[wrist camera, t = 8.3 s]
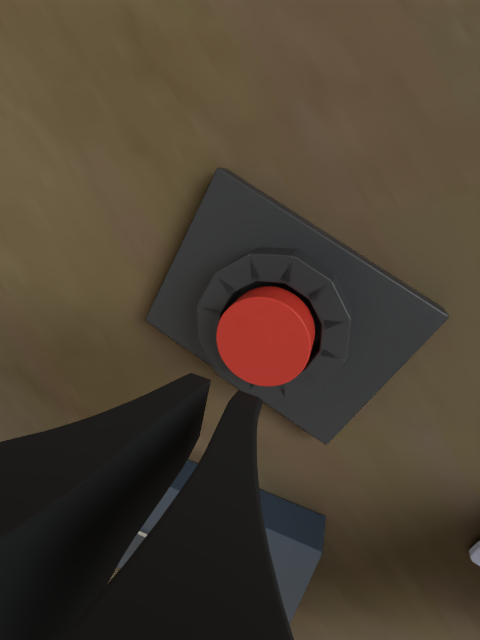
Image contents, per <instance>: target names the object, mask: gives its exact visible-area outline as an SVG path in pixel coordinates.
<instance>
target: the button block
mask: <svg viewBox="0 0 480 640" xmlns="http://www.w3.org/2000/svg"><path fill="white" fill-rule="evenodd" d="M264 286H273V287H279V288H282V289H285V290H288V291H290V292H291V293H293V294H295V295H296V296H297V297H299V298H300V299H301V300H302V301H303V302H304V303H305V304H306V306H307V307H308V309H309V310H310V312H311V314H312V317H313V320H314V324H315V338H314V342H313V346H312V350H311V353H310V357H309V360H308V362H307V364H306V366H305V368H304V369H303V371H302V372H301V373H300V374H299V375H298V376H297V377H295V378H294V379H293V380H291V381H289V382H287V383H285V384H281V385H278V386H259V385H254V384H251V383H249V382H246V381H244V380H243V379H241V378H239V377H238V376H236V375H235V374H234V373H233V372H232V371H231V370H230V369H229V368H228V367H227V366H226V364H225V363H224V361H223V360H222V358H221V356H220V354H219V351H218V347H217V341H216V332H217V326H218V323H219V321H220V319H221V317H222V315H223V314H224V312H225V311H226V310H227V309H228V308H229V307H230V306H231V305H232V304H233V303H234V302H235V301H236V300H237V299H238V298H240V297H241V296H242V295H243V294H244V293H246V292H248V291H249V290H252V289H254V288H258V287H264ZM448 318H449V315H448V314H447V312H446V311H445V310H444V308H443V307H441V306H440V305H438V304H436V303H435V302H433V301H432V300H430V299H429V298H427V297H426V296H424V295H422V294H421V293H419V292H418V291H416V290H415V289H413V288H412V287H410V286H408V285H407V284H405V283H404V282H402V281H401V280H399V279H398V278H396V277H394V276H393V275H391V274H390V273H388V272H387V271H385V270H383V269H382V268H380V267H379V266H377V265H376V264H374V263H373V262H371V261H369V260H368V259H366V258H365V257H363V256H362V255H360V254H359V253H357V252H355V251H354V250H352V249H351V248H349V247H348V246H346V245H345V244H343V243H341V242H340V241H338V240H337V239H335V238H334V237H332V236H331V235H329V234H327V233H326V232H324V231H323V230H321V229H320V228H318V227H316V226H315V225H313V224H312V223H310V222H309V221H307V220H306V219H304V218H302V217H301V216H299V215H298V214H296V213H295V212H293V211H292V210H290V209H288V208H287V207H285V206H284V205H282V204H281V203H279V202H278V201H276V200H274V199H273V198H271V197H270V196H268V195H267V194H265V193H264V192H262V191H260V190H259V189H257V188H256V187H254V186H253V185H251V184H249V183H248V182H246V181H245V180H243V179H242V178H240V177H239V176H237V175H235V174H234V173H232V172H231V171H229V170H228V169H224V168H217V170H216V172H215V174H214V176H213V178H212V180H211V182H210V184H209V187H208V189H207V191H206V193H205V195H204V197H203V199H202V201H201V203H200V206H199V208H198V210H197V212H196V214H195V216H194V218H193V220H192V222H191V224H190V227H189V229H188V231H187V233H186V235H185V237H184V239H183V241H182V243H181V246H180V248H179V250H178V252H177V254H176V256H175V258H174V260H173V262H172V264H171V267H170V269H169V271H168V273H167V275H166V277H165V279H164V281H163V283H162V285H161V288H160V290H159V292H158V294H157V296H156V298H155V300H154V302H153V304H152V307H151V309H150V311H149V313H148V315H147V317H146V319H145V320H146V321H147V322H148V323H150V324H151V325H153V326H154V327H156V328H157V329H158V330H160V331H161V332H163V333H164V334H166V335H167V336H169V337H170V338H171V339H173V340H174V341H176V342H177V343H179V344H180V345H182V346H183V347H185V348H186V349H187V350H189V351H190V352H192V353H193V354H195V355H196V356H198V357H199V358H201V359H202V360H203V361H205V362H206V363H208V364H209V365H211V366H212V367H213V368H214V370H215V371H216V373H217V374H218V375H219V376H220V377H222V378H223V379H225V380H226V381H228V382H229V383H231V384H232V385H234V386H235V387H236V388H238V389H239V390H241V391H243V392H246V393H248V394H251V395H254V396H257V397H260V399H261V400H262V401H263V402H264V403H266V404H267V405H269V406H270V407H272V408H273V409H275V410H276V411H278V412H279V413H280V414H282V415H283V416H285V417H286V418H288V419H289V420H291V421H292V422H293V423H295V424H296V425H298V426H299V427H301V428H302V429H304V430H305V431H307V432H308V433H309V434H311V435H312V436H314V437H315V438H317V439H318V440H320V441H321V442H323V443H324V444H328V443H329V442H330V441H331V439H332V438H333V437H334V436H335V435H336V434H337V433H338V432H339V431H340V430H341V429H342V428H343V427H344V426H345V425H346V424H347V423H348V422H349V421H350V420H351V419H352V418H353V417H354V416H355V415H356V413H357V412H358V411H359V410H360V409H361V408H362V407H363V406H364V405H365V404H366V403H367V402H368V401H369V400H370V399H371V398H372V397H373V396H374V395H375V394H376V393H377V392H378V391H379V390H380V389H381V387H382V386H383V385H384V384H385V383H386V382H387V381H388V380H389V379H390V378H391V377H392V376H393V375H394V374H395V373H396V372H397V371H398V370H399V369H400V368H401V367H402V366H403V365H404V364H405V363H406V361H407V360H408V359H409V358H410V357H411V356H412V355H413V354H414V353H415V352H416V351H417V350H418V349H419V348H420V347H421V346H422V345H423V344H424V343H425V342H426V341H427V340H428V339H429V338H430V337H431V335H432V334H433V333H434V332H435V331H436V330H437V329H438V328H439V327H440V326H441V325H442V324H443V323H444V322H445V321H446V320H447V319H448Z"/></svg>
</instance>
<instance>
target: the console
mask: <svg viewBox="0 0 480 640" xmlns="http://www.w3.org/2000/svg"><path fill="white" fill-rule="evenodd" d="M197 465H198V464H197V463H195V462H192V461H190V460H187V461H186V463H185V465H184V467H183V468H182V470H181V471H180V473H179V474H178V476H177V477H176V479H175V480H174V482H173V483H172V484H171V486H170V487H169V489H168V490H167V492H166V493H165V495H164V496H163V498H162V499H161V500H160V502H159V503H158V505H157V506H156V508H155V509H154V511H153V512H152V513H151V515H150V516H149V518H148V519H147V521H146V522H145V523H144V525H143V526H142V528H141V529H140V531H139V532H138V534H137V535H136V536H135V538H134V540H133V541H132V543H131V544H130V546H129V547H128V549H127V550H126V552H125V554H124V555H123V557H122V559H121V560H120V562H119V564H118V566H117V567H118V568H120V569H121V568H122V567H123V565H124V564H125V563H126V562H127V560H128V559H129V558H130V557H131V555H132V554H133V553H134V551H135V550H136V549H137V548H138V546H139V545H140V544H141V542H142V541H143V540H144V539H145V537H146V536H147V535H148V533H149V532H150V531H151V530H152V528H153V527H154V526H155V524H156V523H157V522H158V520H159V519H160V518H161V516H162V515H163V514H164V512H165V511H166V509H167V508H168V507H169V505H170V504H171V503H172V501H173V500H174V498H175V497H176V496H177V494H178V493H179V491H180V490H181V489H182V487H183V486H184V484H185V483H186V481H187V480H188V478H189V477H190V475H191V474H192V472H193V471H194V469H195V468H196V467H197ZM259 492H260V500H261V507H262V513H263V519H264V525H265V530H266V535H267V540H268V545H269V550H270V554H271V558H272V562H273V566H274V570H275V574H276V578H277V582H278V586H279V590H280V594H281V598H282V602H283V605H284V608H285V612H286V615H287V618H288V622H289V625H290V623H291V621H292V619H293V616H294V614H295V612H296V610H297V608H298V605H299V603H300V601H301V599H302V597H303V594H304V592H305V590H306V588H307V586H308V584H309V581H310V579H311V577H312V575H313V573H314V570H315V568H316V566H317V564H318V562H319V559H320V557H321V555H322V553H323V543H324V532H325V521H326V517H325V516H323V515H321V514H319V513H316V512H314V511H311V510H309V509H306V508H304V507H302V506H299V505H297V504H294V503H292V502H289V501H287V500H285V499H282V498H280V497H277V496H275V495H272V494H270V493H268V492H265V491H263V490H260V489H259Z"/></svg>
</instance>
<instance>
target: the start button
mask: <svg viewBox="0 0 480 640" xmlns="http://www.w3.org/2000/svg"><path fill="white" fill-rule="evenodd" d="M314 338H315V324H314V320H313V317H312V314H311V312H310V310H309V309H308V307H307V306H306V304H305V303H304V302H303V301H302V300H301V299H300V298H299V297H297V296H296V295H295V294H293V293H291V292H290V291H288V290H285V289H282V288H279V287H273V286H264V287H258V288H254V289H252V290H249V291H248V292H246V293H244V294H243V295H242V296H241V297H240V298H238V299H237V300H236V301H235V302H234V303H233V304H232V305H231V306H230V307H229V308H228V309H227V310H226V311H225V312H224V314H223V315H222V317H221V319H220V321H219V323H218V326H217V332H216V341H217V347H218V351H219V354H220V356H221V358H222V360H223V361H224V363H225V364H226V366H227V367H228V368H229V369H230V370H231V371H232V372H233V373H234V374H235V375H236V376H238V377H239V378H241V379H243V380H244V381H246V382H249V383H251V384H254V385H259V386H278V385H281V384H285V383H287V382H289V381H291V380H293V379H294V378H295V377H297V376H298V375H299V374H300V373H301V372H302V371H303V369H304V368H305V366H306V364H307V362H308V360H309V357H310V353H311V350H312V346H313V342H314Z"/></svg>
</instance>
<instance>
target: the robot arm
mask: <svg viewBox="0 0 480 640" xmlns="http://www.w3.org/2000/svg"><path fill="white" fill-rule="evenodd" d="M210 381H211V380H209V379H206V378H204V377H201V376H198V375H195V374H192V373H190V374H188V375H186V376H184V377H181V378H179V379H177V380H175V381H173V382H171V383H169V384H167V385H165V386H163V387H161V388H158V389H156V390H154V391H152V392H150V393H148V394H146V395H143V396H141V397H139V398H137V399H135V400H132V401H130V402H128V403H125V404H123V405H120V406H118V407H115V408H113V409H110V410H108V411H105V412H103V413H100V414H98V415H95V416H92V417H89V418H86V419H83V420H80V421H77V422H74V423H71V424H68V425H64V426H61V427H58V428H55V429H51V430H48V431H44V432H40V433H36V434H32V435H27V436H23V437H19V438H15V439H11V440H7V441H3V442H0V640H294V638H293V635H292V632H291V628H290V625H289V622H288V618H287V615H286V612H285V608H284V605H283V602H282V598H281V594H280V590H279V586H278V582H277V578H276V574H275V570H274V566H273V562H272V558H271V554H270V550H269V545H268V540H267V535H266V530H265V525H264V519H263V513H262V507H261V500H260V492H259V482H258V471H257V423H258V417H259V414H260V410H261V407H262V403H263V402H262V401H261V399H260V397H257V396H254V395H251V394H248V393H246V392H243V391H240V390H238V391H237V393H236V394H235V395H234V396H233V397H232V398H231V400H230V401H229V402H228V404H227V406H226V408H225V411H224V413H223V415H222V417H221V419H220V421H219V423H218V425H217V427H216V430H215V432H214V434H213V436H212V438H211V440H210V442H209V444H208V447H207V449H206V451H205V453H204V454H203V456H202V458H201V460H200V462H199V463H198V465H197V467H196V468H195V469H194V471H193V472H192V474H191V475H190V477H189V478H188V480H187V481H186V483H185V484H184V486H183V487H182V489H181V490H180V491H179V493H178V494H177V496H176V497H175V498H174V500H173V501H172V503H171V504H170V505H169V507H168V508H167V509H166V511H165V512H164V514H163V515H162V516H161V518H160V519H159V520H158V522H157V523H156V524H155V526H154V527H153V528H152V530H151V531H150V532H149V533H148V535H147V536H146V537H145V539H144V540H143V541H142V542H141V544H140V545H139V546H138V548H137V549H136V550H135V551H134V553H133V554H132V555H131V557H130V558H129V559H128V560H127V562H126V563H125V564H124V565H123V567H122V568H121V569H120V570H119V571H118V573H117V574H116V575H115V576H114V577H113V578H112V580H111V581H110V582H109V580H110V578H111V576H112V574H113V573H114V571H115V569H116V567H117V566H118V564H119V562H120V560H121V559H122V557H123V555H124V554H125V552H126V550H127V549H128V547H129V546H130V544H131V543H132V541H133V540H134V538H135V536H136V535H137V534H138V532H139V531H140V529H141V528H142V526H143V525H144V523H145V522H146V521H147V519H148V518H149V516H150V515H151V513H152V512H153V511H154V509H155V508H156V506H157V505H158V503H159V502H160V500H161V499H162V498H163V496H164V495H165V493H166V492H167V490H168V489H169V487H170V486H171V484H172V483H173V482H174V480H175V479H176V477H177V476H178V474H179V473H180V471H181V470H182V468H183V467H184V465H185V463H186V461H187V459H188V457H189V456H190V454H191V452H192V450H193V448H194V446H195V444H196V442H197V440H198V438H199V436H200V431H201V426H202V421H203V416H204V411H205V406H206V401H207V396H208V391H209V386H210ZM469 555H470V559H471V560H472V562H474V563H475V564H477V565H479V566H480V541H478V542H477V543H476V544H475V545H474V546H473V547H472V548H471V549H470V550H469ZM108 582H109V583H108ZM107 583H108V584H107ZM106 585H107V586H106Z"/></svg>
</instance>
